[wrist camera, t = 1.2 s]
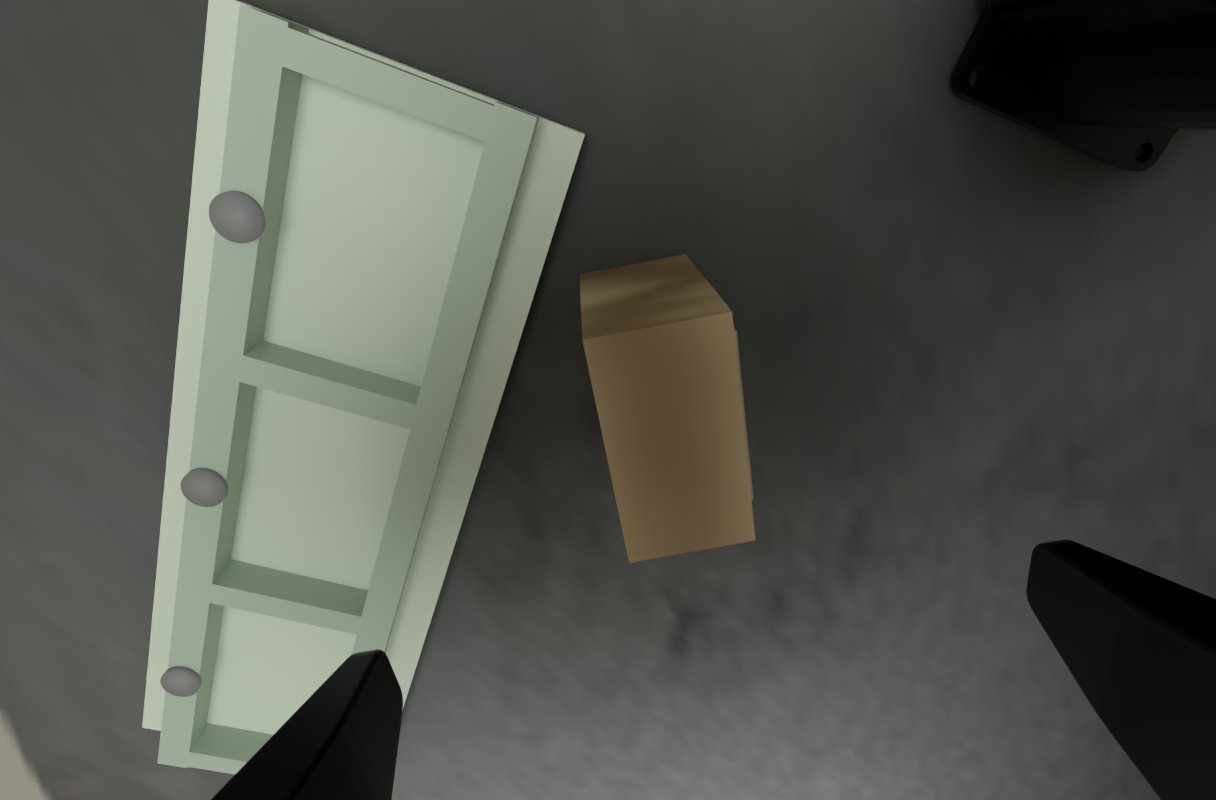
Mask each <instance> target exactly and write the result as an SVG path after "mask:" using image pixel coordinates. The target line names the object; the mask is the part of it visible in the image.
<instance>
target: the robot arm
mask: <svg viewBox="0 0 1216 800" xmlns="http://www.w3.org/2000/svg"><path fill="white" fill-rule="evenodd" d="M974 68H977V69H978V70H979V73H980V77H979V81H978V82H977V84H976V85H975V86H974V87H972V86H971V85H970V81H969V77H970V74H971V72H972V71H973V70H974ZM952 88H953V90H954V92H955V94H956V95H958V96H959V97H960V98H963V99H965V100H967V101H969V102H972V103H974V104H976V105H978V106H981V107H983V108H985V109H987V110H989V111H992V112H994V113H996V114H998V115H1001V116H1003V117H1005V118H1007V119H1010V120H1012V121H1014V122H1016V123H1019V124H1021V125H1023V126H1025V127H1027V128H1030V129H1032V130H1034V131H1036V132H1039V133H1041V134H1043V135H1045V136H1048V137H1050V138H1052V139H1054V140H1057V141H1059V142H1061V143H1063V144H1065V145H1068V146H1070V147H1072V148H1074V149H1077V150H1079V151H1081V152H1083V153H1086V154H1088V155H1090V156H1092V157H1095V158H1097V159H1099V160H1101V161H1103V162H1106V163H1108V164H1110V165H1112V166H1115V167H1117V168H1119V169H1122V170H1128V171H1137V172H1140V171H1143V170H1146V169H1148V168H1149V167H1151V166H1153V164H1154V163H1155V162H1156V161H1157V160H1158V159H1159V157H1160V156H1161V154H1162V153H1163V151H1164V150H1165V148H1166V146H1167V145H1168V143H1169V142H1170V140H1171V139H1172V137H1173V136H1174V134H1175V133H1176V131H1177V130H1178V129H1191V130H1216V0H988V6H987V8H986V10H985V12H984V14H983V16H982V18H981V20H980V22H979V24H978V26H977V28H976V30H975V31H974V33H973V35H972V37H971V39H970V41H969V43H968V45H967V47H966V49H965V51H964V53H963V55H962V57H961V59H960V61H959V63H958V65H957V67H956V69H955V71H954V74H953V77H952ZM1140 145H1141V147H1142V151H1141V153H1140V155H1139V156H1138V157H1137V159H1135V152H1136V150H1137V148H1138V147H1139V146H1140ZM1027 598H1028V602H1029V604H1030V607H1031V609H1032V610H1033V612H1034V614H1035V615H1036V617H1037V619H1038V620H1039V622H1040V623H1041V625H1042V627H1043V628H1044V630H1045V632H1046V633H1047V635H1048V636H1049V638H1050V640H1051V641H1052V643H1053V645H1054V646H1055V648H1056V649H1057V651H1058V653H1059V654H1060V656H1061V658H1062V659H1063V661H1064V662H1065V664H1066V666H1067V667H1068V669H1069V671H1070V672H1071V674H1072V675H1073V677H1074V679H1075V680H1076V682H1077V683H1078V685H1079V687H1080V688H1081V690H1082V692H1083V693H1084V695H1085V696H1086V698H1087V700H1088V701H1089V703H1090V704H1091V706H1092V707H1093V709H1094V710H1095V712H1096V713H1097V715H1098V716H1099V717H1100V719H1101V720H1102V722H1103V723H1104V724H1105V726H1106V727H1107V729H1108V730H1109V731H1110V733H1111V734H1112V735H1113V737H1114V738H1115V739H1116V741H1117V742H1118V743H1119V745H1120V746H1121V747H1122V749H1123V750H1124V751H1125V753H1126V754H1127V755H1128V757H1129V758H1130V759H1131V761H1132V762H1133V763H1134V765H1135V766H1136V767H1137V768H1138V770H1139V771H1140V772H1141V774H1142V775H1143V776H1144V778H1145V779H1146V780H1147V782H1148V783H1149V784H1150V786H1151V787H1152V788H1153V790H1154V791H1155V792H1156V794H1157V795H1158V796H1159V798H1160V799H1161V800H1216V599H1214V598H1212V597H1209V596H1207V595H1204V594H1202V593H1199V592H1197V591H1194V590H1192V589H1190V588H1187V587H1185V586H1182V585H1180V584H1177V583H1175V582H1172V581H1170V580H1167V579H1165V578H1163V577H1160V576H1158V575H1155V574H1153V573H1150V572H1148V571H1145V570H1143V569H1140V568H1138V567H1136V566H1133V565H1131V564H1128V563H1126V562H1123V561H1121V560H1118V559H1116V558H1113V557H1111V556H1109V555H1106V554H1104V553H1101V552H1099V551H1096V550H1094V549H1091V548H1089V547H1086V546H1084V545H1082V544H1079V543H1077V542H1074V541H1071V540H1059V541H1052V542H1046V543H1041V544H1038V545H1036V546H1035V548H1034V549H1033V551H1032V556H1031V563H1030V569H1029V576H1028V582H1027ZM402 710H403V696H402V691H401V688H400V685H399V683H398V681H397V678H396V676H395V673H394V671H393V669H392V666H391V664H390V662H389V659H388V657H387V655H386V653H385V652H384V651H382V650H379V649H376V650H370V651H363V652H357V653H354V654H352V655H351V656H349V657H348V658H347V659H346V660H345V661H344V662H343V663H342V664H341V665H340V666H339V667H338V668H337V669H336V670H335V672H334V673H333V674H332V675H331V676H330V677H329V678H328V679H327V680H326V681H325V682H324V683H323V684H322V685H321V686H320V687H319V688H318V689H317V690H316V691H315V692H314V693H313V694H312V695H311V696H310V697H309V698H308V700H307V701H306V702H305V703H304V704H303V705H302V706H301V707H300V708H299V709H298V710H297V711H296V712H295V713H294V714H293V715H292V716H291V717H290V718H289V719H288V720H287V721H286V722H285V723H284V724H283V725H282V726H281V727H280V729H279V730H278V731H277V732H276V733H275V734H274V735H273V736H272V737H271V738H270V739H269V740H268V741H267V742H266V743H265V744H264V745H263V746H262V747H261V748H260V749H259V750H258V751H257V752H256V753H255V754H254V755H253V756H252V758H251V759H250V760H249V761H248V762H247V763H246V764H245V765H244V766H243V767H242V768H241V769H240V770H239V771H238V772H237V773H236V774H235V775H234V776H233V777H232V778H231V779H230V780H229V781H228V782H227V783H226V784H225V786H224V787H223V788H222V789H221V790H220V791H219V792H218V793H217V794H216V795H215V796H214V797H213V798H212V799H211V800H391V798H392V790H393V782H394V774H395V766H396V758H397V750H398V742H399V734H400V726H401V718H402Z"/></svg>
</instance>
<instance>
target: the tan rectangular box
mask: <svg viewBox="0 0 1216 800" xmlns="http://www.w3.org/2000/svg"><path fill="white" fill-rule="evenodd" d="M579 279H580V300H581V322H582V341H583V345H584V350H585V355H586V360H587V365H588V369H589V374H590V379H591V384H592V388H593V393H594V398H595V403H596V407H597V412H598V417H599V422H600V427H601V431H602V436H603V441H604V446H605V450H606V455H607V460H608V465H609V470H610V474H611V479H612V484H613V489H614V493H615V498H616V503H617V508H618V512H619V517H620V522H621V527H622V532H623V536H624V541H625V546H626V551H627V555H628V560H629V563H633V562H638V561H644V560H649V559H655V558H660V557H666V556H671V555H677V554H683V553H688V552H694V551H699V550H705V549H710V548H716V547H722V546H727V545H733V544H738V543H744V542H749V541H755V531H754V521H753V511H752V502H751V500H754V498H753V488H752V478H751V468H750V458H749V448H748V438H747V428H746V418H745V408H744V398H743V388H742V378H741V368H740V358H739V348H738V338H737V330H736V329H735V328H734V325H733V316H732V311H731V310H730V308H729V307H728V306H727V305H726V303H725V302H724V301H723V300H722V298H721V297H720V296H719V295H718V293H717V292H716V291H715V290H714V288H713V287H712V286H711V285H710V283H709V282H708V281H707V280H706V278H705V277H704V276H703V275H702V273H701V272H700V271H699V270H698V269H697V267H696V266H695V265H694V264H693V262H692V261H691V260H690V259H689V257H688V256H687V255H686V254H682V255H677V256H672V257H666V258H661V259H656V260H651V261H646V262H640V263H635V264H630V265H625V266H620V267H615V268H609V269H604V270H599V271H594V272H589V273H583V274H579Z"/></svg>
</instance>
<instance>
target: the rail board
mask: <svg viewBox="0 0 1216 800" xmlns="http://www.w3.org/2000/svg"><path fill="white" fill-rule="evenodd" d="M584 136H585V134H584V133H582V132H580V131H577V130H575V129H572V128H569V127H567V126H564V125H562V124H559V123H556V122H554V121H551V120H549V119H546V118H543V117H541V116H538V115H536V114H533V113H530V112H528V111H525V110H523V109H520V108H517V107H515V106H512V105H510V104H507V103H504V102H502V101H499V100H497V99H494V98H491V97H489V96H486V95H484V94H481V93H478V92H476V91H473V90H471V89H468V88H465V87H463V86H460V85H458V84H455V83H452V82H450V81H447V80H445V79H442V78H439V77H437V76H434V75H432V74H429V73H426V72H424V71H421V70H419V69H416V68H413V67H411V66H408V65H406V64H403V63H400V62H398V61H395V60H393V59H390V58H387V57H385V56H382V55H380V54H377V53H374V52H372V51H369V50H367V49H364V48H361V47H359V46H356V45H354V44H351V43H348V42H346V41H343V40H341V39H338V38H335V37H333V36H330V35H328V34H325V33H322V32H320V31H317V30H315V29H312V28H309V27H307V26H304V25H302V24H299V23H296V22H294V21H291V20H289V19H286V18H283V17H281V16H278V15H276V14H273V13H270V12H268V11H265V10H263V9H260V8H257V7H255V6H252V5H250V4H247V3H244V2H242V1H239V0H209V3H208V14H207V25H206V36H205V47H204V57H203V68H202V79H201V90H200V101H199V112H198V123H197V134H196V145H195V156H194V167H193V178H192V189H191V200H190V211H189V222H188V233H187V243H186V254H185V265H184V276H183V287H182V298H181V309H180V320H179V331H178V342H177V353H176V364H175V375H174V386H173V397H172V408H171V419H170V429H169V440H168V451H167V462H166V473H165V484H164V495H163V506H162V517H161V528H160V539H159V550H158V561H157V572H156V583H155V594H154V604H153V615H152V626H151V637H150V648H149V659H148V670H147V681H146V692H145V703H144V714H143V725H142V728H147V729H153V730H159V731H161V736H160V746H159V755H158V763H159V764H165V765H171V766H177V767H183V768H187V767H194V768H199V769H205V770H211V771H217V772H223V773H229V774H236V773H237V772H238V771H239V770H240V769H241V768H242V767H243V766H244V765H245V764H246V763H247V762H248V761H249V760H250V759H251V758H252V756H253V755H254V754H255V753H256V752H257V751H258V750H259V749H260V748H261V747H262V746H263V745H264V744H265V743H266V742H267V741H268V740H269V739H270V738H271V737H272V736H273V735H274V734H275V733H276V732H277V731H278V730H279V729H280V727H281V726H282V725H283V724H284V723H285V722H286V721H287V720H288V719H289V718H290V717H291V716H292V715H293V714H294V713H295V712H296V711H297V710H298V709H299V708H300V707H301V706H302V705H303V704H304V703H305V702H306V701H307V700H308V698H309V697H310V696H311V695H312V694H313V693H314V692H315V691H316V690H317V689H318V688H319V687H320V686H321V685H322V684H323V683H324V682H325V681H326V680H327V679H328V678H329V677H330V676H331V675H332V674H333V673H334V672H335V670H336V669H337V668H338V667H339V666H340V665H341V664H342V663H343V662H344V661H345V660H346V659H347V658H348V657H349V656H351V655H352V654H354V653H357V652H363V651H370V650H376V649H379V650H382V651H384V652H385V653H386V655H387V657H388V659H389V662H390V664H391V666H392V669H393V671H394V673H395V676H396V678H397V681H398V683H399V685H400V688H401V691H402V696H403V707H404V704H405V701H406V698H407V695H408V692H409V688H410V685H411V682H412V679H413V676H414V673H415V669H416V666H417V663H418V660H419V657H420V654H421V650H422V647H423V644H424V641H425V638H426V635H427V632H428V628H429V625H430V622H431V619H432V616H433V613H434V609H435V606H436V603H437V600H438V597H439V594H440V590H441V587H442V584H443V581H444V578H445V575H446V572H447V568H448V565H449V562H450V559H451V556H452V553H453V549H454V546H455V543H456V540H457V537H458V534H459V530H460V527H461V524H462V521H463V518H464V515H465V512H466V508H467V505H468V502H469V499H470V496H471V493H472V489H473V486H474V483H475V480H476V477H477V474H478V470H479V467H480V464H481V461H482V458H483V455H484V452H485V448H486V445H487V442H488V439H489V436H490V433H491V429H492V426H493V423H494V420H495V417H496V414H497V410H498V407H499V404H500V401H501V398H502V395H503V392H504V388H505V385H506V382H507V379H508V376H509V373H510V369H511V366H512V363H513V360H514V357H515V354H516V350H517V347H518V344H519V341H520V338H521V335H522V332H523V328H524V325H525V322H526V319H527V316H528V313H529V309H530V306H531V303H532V300H533V297H534V294H535V290H536V287H537V284H538V281H539V278H540V275H541V272H542V268H543V265H544V262H545V259H546V256H547V253H548V249H549V246H550V243H551V240H552V237H553V234H554V230H555V227H556V224H557V221H558V218H559V215H560V212H561V208H562V205H563V202H564V199H565V196H566V193H567V189H568V186H569V183H570V180H571V177H572V174H573V170H574V167H575V164H576V161H577V158H578V155H579V152H580V148H581V145H582V142H583V139H584Z"/></svg>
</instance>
